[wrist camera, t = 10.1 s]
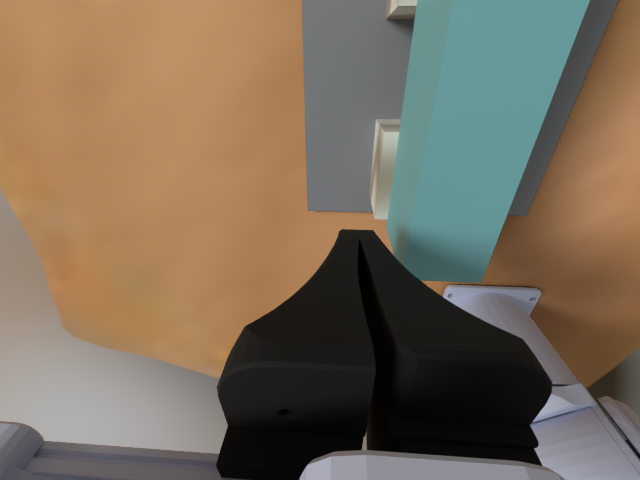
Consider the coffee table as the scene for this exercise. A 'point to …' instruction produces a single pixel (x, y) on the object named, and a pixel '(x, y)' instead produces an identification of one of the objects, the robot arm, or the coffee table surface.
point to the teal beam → (471, 125)
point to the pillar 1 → (383, 165)
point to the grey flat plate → (396, 96)
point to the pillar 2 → (401, 9)
